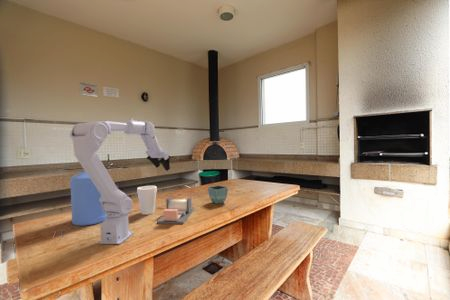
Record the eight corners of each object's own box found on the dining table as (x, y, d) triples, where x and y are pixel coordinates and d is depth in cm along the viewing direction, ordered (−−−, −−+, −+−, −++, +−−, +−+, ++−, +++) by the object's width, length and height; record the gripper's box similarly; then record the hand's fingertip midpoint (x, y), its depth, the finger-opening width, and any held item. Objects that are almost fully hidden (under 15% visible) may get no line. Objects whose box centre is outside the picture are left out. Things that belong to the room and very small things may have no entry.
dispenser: (183, 223, 90) (182, 205, 90) (156, 223, 91) (156, 205, 91) (194, 209, 110) (194, 194, 110) (172, 209, 111) (172, 194, 111)
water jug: (117, 217, 100) (115, 159, 99) (80, 229, 87) (77, 162, 86) (101, 212, 108) (99, 159, 107) (65, 222, 95) (63, 161, 94)
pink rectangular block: (176, 220, 90) (176, 210, 90) (163, 220, 91) (163, 210, 91) (183, 213, 100) (183, 204, 100) (171, 212, 101) (171, 204, 101)
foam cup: (150, 216, 101) (150, 189, 100) (134, 215, 103) (133, 189, 102) (160, 210, 110) (160, 185, 110) (145, 209, 112) (144, 185, 111)
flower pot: (219, 199, 128) (219, 185, 128) (228, 202, 121) (228, 187, 121) (207, 202, 123) (207, 187, 122) (216, 205, 116) (215, 189, 115)
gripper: (168, 142, 95) (178, 166, 102) (149, 138, 103) (159, 160, 110) (157, 151, 90) (168, 174, 97) (138, 146, 98) (149, 168, 105)
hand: (163, 168), depth 103 cm, fingers open, 7 cm apart
